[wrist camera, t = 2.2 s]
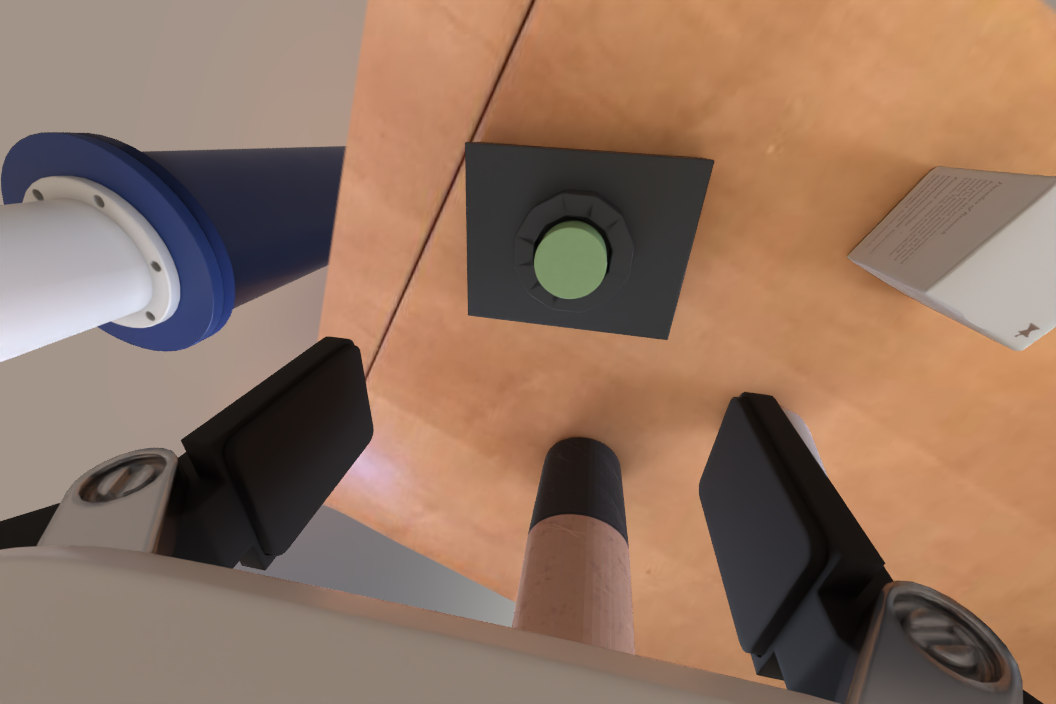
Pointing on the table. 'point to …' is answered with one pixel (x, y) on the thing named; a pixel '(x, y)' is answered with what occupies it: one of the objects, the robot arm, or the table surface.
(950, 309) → the product box
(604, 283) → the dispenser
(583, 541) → the travel mug
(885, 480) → the table surface
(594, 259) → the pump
